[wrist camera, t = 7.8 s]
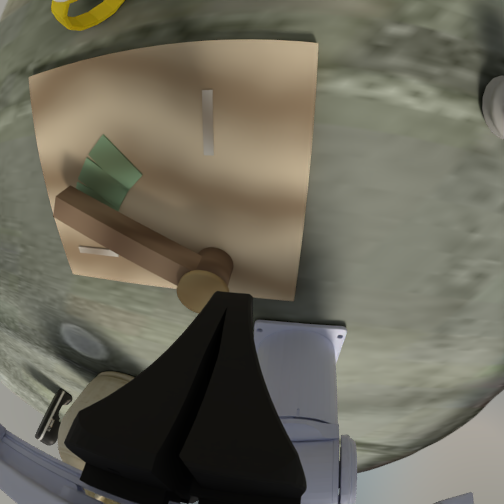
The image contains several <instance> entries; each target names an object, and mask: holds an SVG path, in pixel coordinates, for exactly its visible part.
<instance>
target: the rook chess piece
mask: <svg viewBox="0 0 504 504" xmlns="http://www.w3.org/2000/svg"><path fill="white" fill-rule="evenodd" d="M482 110H483V114H484V118H485V121H486V124H487V125H488V127H489V128H490V130H491V131H492V133H494V134H495V135H496V136H498V137H499V138H501V139H504V76H503V75H502V76H498V77H495V78H493V79H492V80H491V81H490V82H489V83H488V85H487V86H486V89H485V92H484V95H483V107H482Z"/></svg>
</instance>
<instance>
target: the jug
mask: <svg viewBox="0 0 504 504" xmlns="http://www.w3.org/2000/svg"><path fill="white" fill-rule="evenodd" d="M134 378H135V377H133V376H131V375H128V374H124V373H120V372H115V371H106V372H102V373H100V374H98V375H97V377H96V378H94V379H93V380H92V381H91V382H90V383H89V384H88V385H87V386H86V388H85V389H84V390H83V392H82V393H81V394H80V395H79V397H78V398H77V399H76V401H75V402H74V403H73V404H72V406H71V407H70V408H69V410H68V411H67V412H66V414H65V415H64V417H63V419H62V421H61V424H60V427H59V432H58V450H59V453H60V456H61V458H62V460H63V462H65V463H67V464H69V465H71V466H73V467H75V468H77V469H80V470H82V471H83V469H84V466H85V463H86V462H84V461H83V460H82V459H80V458H79V457H78V456H76V455H75V454H74V453H72V452H71V451H70V450H69V449H68V448H67V447H66V446H65V444H64V441H65V439H66V436H67V434H68V432H69V429H70V427H71V425H72V423H73V421H74V419H75V417H76V416H77V414H78V412H79V411H80V410H82V409H84V408H86V407H88V406H90V405H92V404H94V403H96V402H98V401H100V400H101V399H103V398H105V397H107V396H108V395H110V394H112V393H113V392H115V391H116V390H118V389H119V388H121V387H122V386H124V385H125V384H127V383H128V382H130V381H131V380H132V379H134ZM83 489H84V488H83ZM84 490H85V494H86V495H88V496H90V497H92V498H95V499H97V500H99V501H102V502H104V503H106V504H121V503H118V502H115V501H113V500H110V499H108V498H105V497H103V496H100V495H98V494H95V493H93V492H91V491H88V490H86V489H84Z"/></svg>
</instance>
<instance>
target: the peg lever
mask: <svg viewBox="0 0 504 504" xmlns="http://www.w3.org/2000/svg"><path fill="white" fill-rule="evenodd" d="M53 217H54V218H56V219H58V220H59V221H61V222H63V223H64V224H66V225H68V226H69V227H71V228H73V229H74V230H76V231H78V232H80V233H81V234H83V235H85V236H86V237H88V238H90V239H92V240H93V241H95V242H97V243H99V244H100V245H102V246H104V247H106V248H107V249H109V250H111V251H113V252H115V253H116V254H118V255H120V256H122V257H124V258H125V259H127V260H129V261H131V262H133V263H135V264H137V265H138V266H140V267H142V268H144V269H146V270H148V271H150V272H151V273H153V274H155V275H157V276H159V277H161V278H163V279H165V280H167V281H169V282H171V283H173V284H175V285H176V286H177V295H178V297H179V299H180V301H181V302H182V304H183V305H184V306H186V307H187V308H188V309H190V310H192V311H194V312H196V313H200V312H201V311H202V309H203V308H204V307H205V305H206V304H207V302H208V301H209V300H210V298H211V297H212V295H213V294H214V293H215V292H216V291H222V292H230V291H229V288H228V284H229V281H230V277H231V274H232V270H233V261H232V259H231V257H230V256H229V255H228V254H227V253H226V252H225V251H223V250H221V249H219V248H214V247H208V248H204V249H202V250H201V251H199V252H198V254H197V253H195V252H193V251H191V250H189V249H188V248H186V247H184V246H182V245H180V244H178V243H176V242H174V241H172V240H170V239H168V238H167V237H165V236H163V235H161V234H159V233H157V232H155V231H153V230H151V229H150V228H148V227H146V226H144V225H142V224H140V223H138V222H136V221H135V220H133V219H131V218H129V217H127V216H125V215H123V214H122V213H120V212H118V211H116V210H114V209H112V208H111V207H109V206H107V205H105V204H103V203H101V202H100V201H98V200H96V199H94V198H92V197H91V196H89V195H87V194H85V193H83V192H82V191H80V190H78V189H76V188H74V187H73V186H71V185H70V186H69V187H67V188H66V189H65V190H63V191H62V192H61V193H59V194H58V195H57V196H56V198H55V205H54V213H53Z"/></svg>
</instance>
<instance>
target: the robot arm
mask: <svg viewBox="0 0 504 504" xmlns="http://www.w3.org/2000/svg"><path fill="white" fill-rule="evenodd" d="M259 328H260V329H259ZM346 334H347V329H346V327H344V326H331V325H317V324H303V323H291V322H280V321H269V320H257V321H255V325H254V336H253V297H252V296H251V295H250V294H245V293H233V292H222V291H216V292H215V293H214V294H213V295H212V297H211V298H210V300H209V301H208V302H207V304H206V305H205V307H204V308H203V309H202V311H201V312H200V313H199V314H198V316H197V317H196V318H195V319H194V321H193V322H192V323H191V324H190V325H189V327H188V328H187V329H186V330H185V331H184V332H183V334H182V335H181V336H180V337H179V338H178V339H177V340H176V341H175V342H174V343H173V344H172V345H171V346H170V347H169V348H168V349H167V350H166V351H165V352H164V353H163V354H162V355H161V356H160V357H159V358H158V359H157V360H156V361H155V362H154V363H152V364H151V365H150V366H149V367H148V368H146V369H145V370H144V371H143V372H141V373H140V374H139V375H138V376H136V377H135V378H134V379H132V380H131V381H130V382H128V383H127V384H125V385H124V386H122V387H121V388H119V389H118V390H116V391H115V392H113V393H112V394H110V395H108V396H107V397H105V398H103V399H101V400H100V401H98V402H96V403H94V404H92V405H90V406H88V407H86V408H84V409H82V410H80V411H79V412H78V414H77V416H76V417H75V419H74V421H73V423H72V425H71V427H70V429H69V432H68V434H67V436H66V439H65V441H64V444H65V446H66V447H67V448H68V449H69V450H70V451H71V452H72V453H74V454H75V455H76V456H78V457H79V458H80V459H82V460H83V461H84V462H86V463H85V466H84V469H83V471H82V470H80V469H77V468H75V467H73V466H71V465H69V464H67V463H65V462H63V461H60V460H58V459H56V458H54V457H53V456H51V455H48V454H47V453H45V452H43V451H41V450H39V449H38V448H35V447H34V446H32V445H30V444H29V443H27V442H25V441H24V440H22V439H20V438H19V437H17V436H15V435H13V434H12V433H11V432H9V431H7V430H6V429H5V427H3V426H2V425H1V424H0V489H1V490H2V491H3V492H4V493H6V494H7V495H8V496H9V497H10V498H11V499H13V500H14V501H15V502H17V503H18V504H106V503H104V502H102V501H99V500H97V499H95V498H92V497H90V496H88V495H86V494H85V490H84V489H86V490H88V491H91V492H93V493H95V494H98V495H100V496H103V497H105V498H108V499H110V500H113V501H115V502H118V503H121V504H180V502H183V503H187V504H188V503H194V502H196V501H198V500H199V502H198V504H355V500H356V487H357V453H356V443H355V441H354V440H353V439H351V438H350V436H349V435H341V447H340V461H339V424H338V410H337V380H336V362H337V359H338V356H339V354H340V351H341V348H342V345H343V343H344V340H345V337H346ZM83 488H84V489H83ZM338 488H340V490H339V495H338ZM434 504H474V502H473V493H472V492H469V493H466V494H463V495H459V496H456V497H452V498H448V499H445V500H442V501H439V502H436V503H434Z"/></svg>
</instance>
